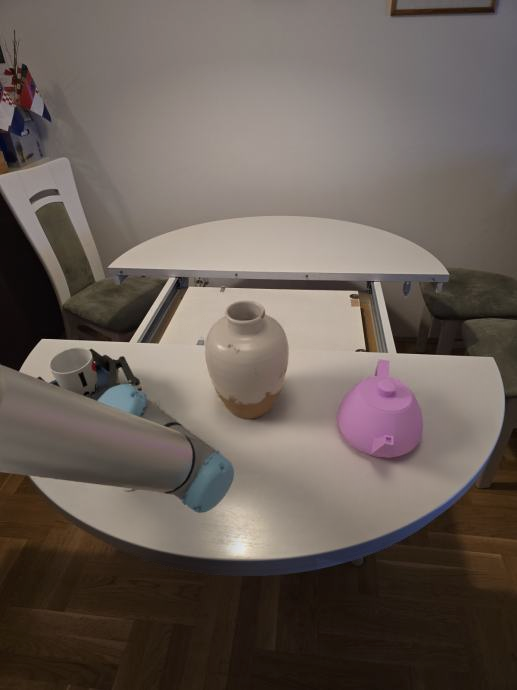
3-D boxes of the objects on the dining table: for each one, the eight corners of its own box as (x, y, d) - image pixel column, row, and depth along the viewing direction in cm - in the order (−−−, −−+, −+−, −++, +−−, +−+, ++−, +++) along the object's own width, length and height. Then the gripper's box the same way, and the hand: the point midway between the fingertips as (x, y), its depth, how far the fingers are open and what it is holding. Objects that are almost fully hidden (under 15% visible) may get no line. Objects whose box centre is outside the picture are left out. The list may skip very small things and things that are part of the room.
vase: (282, 435, 77) (285, 341, 63) (203, 426, 80) (188, 333, 66) (290, 379, 90) (293, 290, 76) (221, 373, 92) (212, 285, 78)
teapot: (338, 386, 88) (344, 342, 80) (412, 394, 85) (426, 350, 78) (333, 472, 71) (340, 426, 63) (426, 486, 68) (445, 440, 61)
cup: (91, 412, 83) (76, 376, 76) (57, 406, 84) (39, 370, 78) (111, 385, 89) (99, 350, 83) (79, 380, 90) (65, 345, 84)
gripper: (75, 472, 69) (18, 411, 80) (180, 396, 83) (118, 354, 94) (61, 444, 64) (3, 384, 76) (174, 369, 78) (110, 327, 90)
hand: (67, 367), depth 85 cm, fingers open, 11 cm apart
